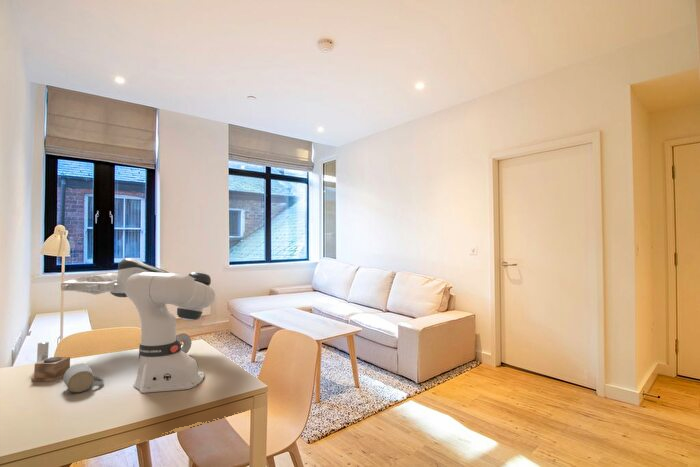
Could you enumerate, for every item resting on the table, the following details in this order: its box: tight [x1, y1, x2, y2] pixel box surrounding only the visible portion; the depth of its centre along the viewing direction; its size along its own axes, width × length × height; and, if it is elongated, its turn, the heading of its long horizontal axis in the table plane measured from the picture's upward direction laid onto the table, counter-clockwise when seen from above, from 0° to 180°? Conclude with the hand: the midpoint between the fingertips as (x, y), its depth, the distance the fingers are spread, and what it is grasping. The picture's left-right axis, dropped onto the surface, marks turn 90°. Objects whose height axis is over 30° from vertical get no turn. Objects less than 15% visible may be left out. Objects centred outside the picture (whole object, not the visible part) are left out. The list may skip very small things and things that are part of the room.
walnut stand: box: [31, 356, 71, 382], centre depth 126 cm, size 8×8×6 cm
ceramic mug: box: [62, 363, 105, 394], centre depth 117 cm, size 11×8×8 cm
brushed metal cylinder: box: [36, 341, 50, 363], centre depth 134 cm, size 3×3×10 cm
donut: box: [176, 333, 192, 354], centre depth 151 cm, size 10×4×10 cm, turn 153°
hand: (75, 288), depth 145 cm, fingers open, 8 cm apart
